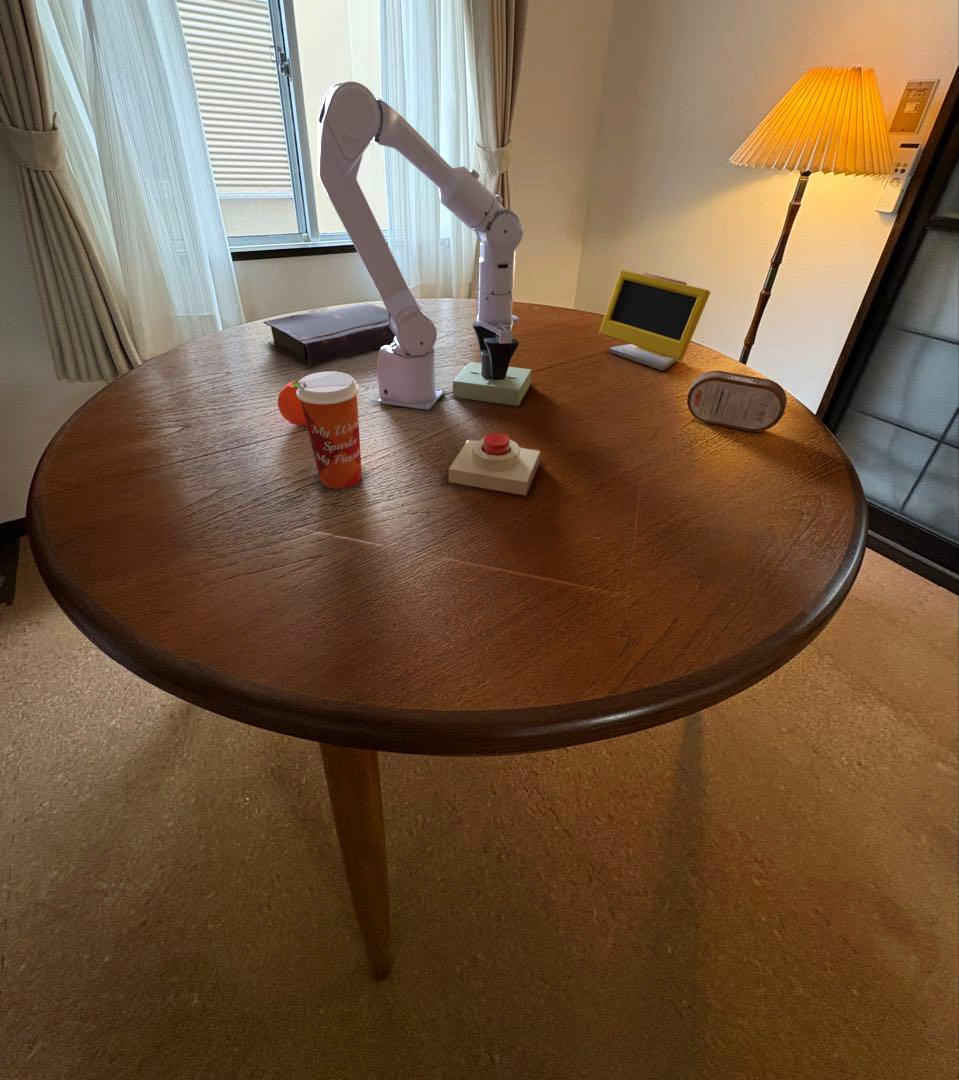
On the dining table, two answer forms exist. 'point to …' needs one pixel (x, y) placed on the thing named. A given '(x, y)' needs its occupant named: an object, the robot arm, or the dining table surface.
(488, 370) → the dial knob
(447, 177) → the robot arm
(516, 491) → the button block
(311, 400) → the paper cup
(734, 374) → the tin
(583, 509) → the dining table surface
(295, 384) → the clementine
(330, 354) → the diary
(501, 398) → the dial panel
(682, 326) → the toy computer monitor
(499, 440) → the red button
